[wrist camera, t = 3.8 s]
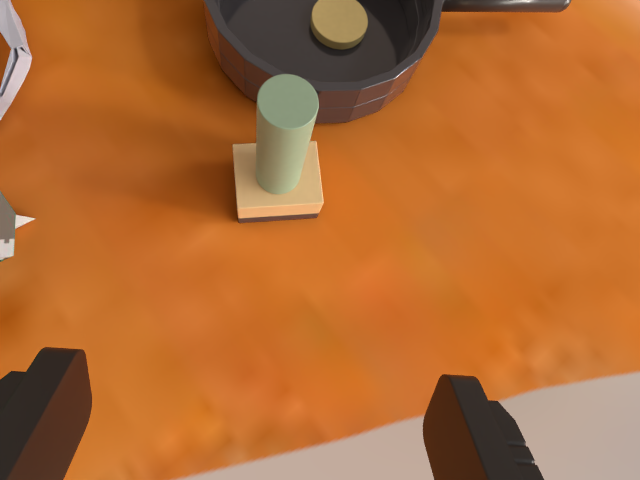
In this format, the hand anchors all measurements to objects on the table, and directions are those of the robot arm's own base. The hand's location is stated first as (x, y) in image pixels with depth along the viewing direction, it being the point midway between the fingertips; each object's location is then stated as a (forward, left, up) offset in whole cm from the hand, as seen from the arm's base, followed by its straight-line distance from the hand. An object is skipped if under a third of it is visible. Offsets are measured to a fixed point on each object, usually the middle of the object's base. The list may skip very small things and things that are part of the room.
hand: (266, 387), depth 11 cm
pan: (+6, +23, -17) cm, 29 cm away
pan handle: (+19, +23, -15) cm, 33 cm away
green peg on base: (+2, +11, -17) cm, 20 cm away
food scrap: (+7, +23, -17) cm, 29 cm away
